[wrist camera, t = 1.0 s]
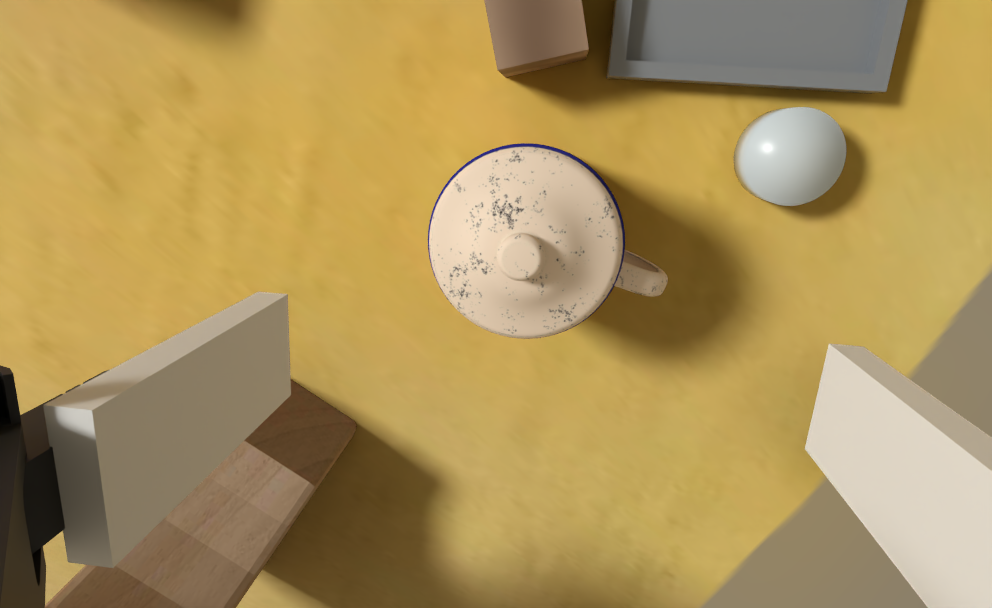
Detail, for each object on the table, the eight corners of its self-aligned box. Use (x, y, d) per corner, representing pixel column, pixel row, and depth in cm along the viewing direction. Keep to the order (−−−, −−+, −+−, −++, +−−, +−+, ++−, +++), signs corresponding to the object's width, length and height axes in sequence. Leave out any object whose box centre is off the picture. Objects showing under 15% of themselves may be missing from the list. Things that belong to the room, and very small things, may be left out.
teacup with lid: (438, 262, 37) (385, 319, 26) (486, 117, 35) (450, 111, 24) (620, 330, 37) (645, 415, 26) (683, 190, 35) (740, 218, 24)
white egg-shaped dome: (836, 111, 33) (856, 110, 31) (816, 204, 34) (834, 209, 32) (741, 105, 33) (754, 103, 31) (726, 197, 35) (737, 202, 32)
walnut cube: (571, -29, 32) (573, -54, 28) (585, 59, 33) (588, 49, 29) (489, -9, 33) (478, -30, 29) (505, 77, 34) (497, 69, 30)
